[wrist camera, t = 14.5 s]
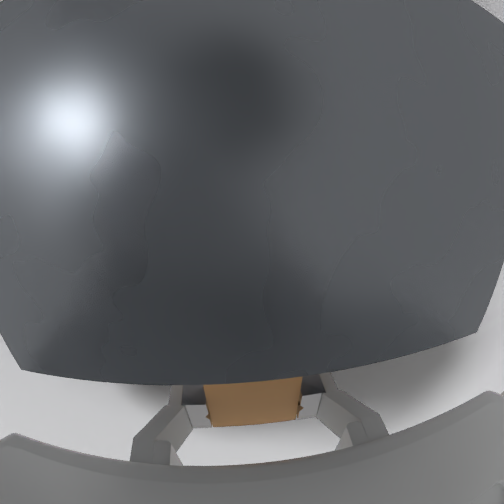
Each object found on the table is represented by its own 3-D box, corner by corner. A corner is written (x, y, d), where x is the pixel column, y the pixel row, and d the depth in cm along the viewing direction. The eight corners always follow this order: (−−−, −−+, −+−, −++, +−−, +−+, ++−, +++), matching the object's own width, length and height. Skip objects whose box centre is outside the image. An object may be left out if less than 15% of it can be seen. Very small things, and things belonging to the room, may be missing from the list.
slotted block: (77, 64, 7) (-43, 34, 2) (388, 57, 8) (514, 32, 3) (98, 258, 11) (21, 369, 5) (379, 241, 12) (476, 332, 6)
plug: (187, -24, 6) (176, -71, 3) (283, -24, 7) (306, -69, 4) (212, 372, 14) (213, 426, 11) (282, 367, 14) (295, 419, 11)
